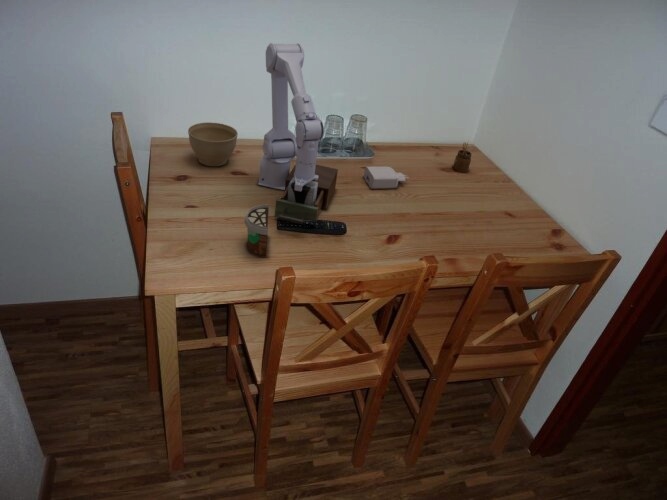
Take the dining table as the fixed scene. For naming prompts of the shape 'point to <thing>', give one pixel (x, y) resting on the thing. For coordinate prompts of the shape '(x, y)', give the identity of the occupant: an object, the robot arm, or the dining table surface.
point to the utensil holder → (462, 159)
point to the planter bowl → (212, 142)
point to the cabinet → (321, 181)
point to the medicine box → (310, 195)
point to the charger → (383, 177)
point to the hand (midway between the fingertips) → (301, 201)
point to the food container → (257, 229)
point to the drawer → (298, 208)
